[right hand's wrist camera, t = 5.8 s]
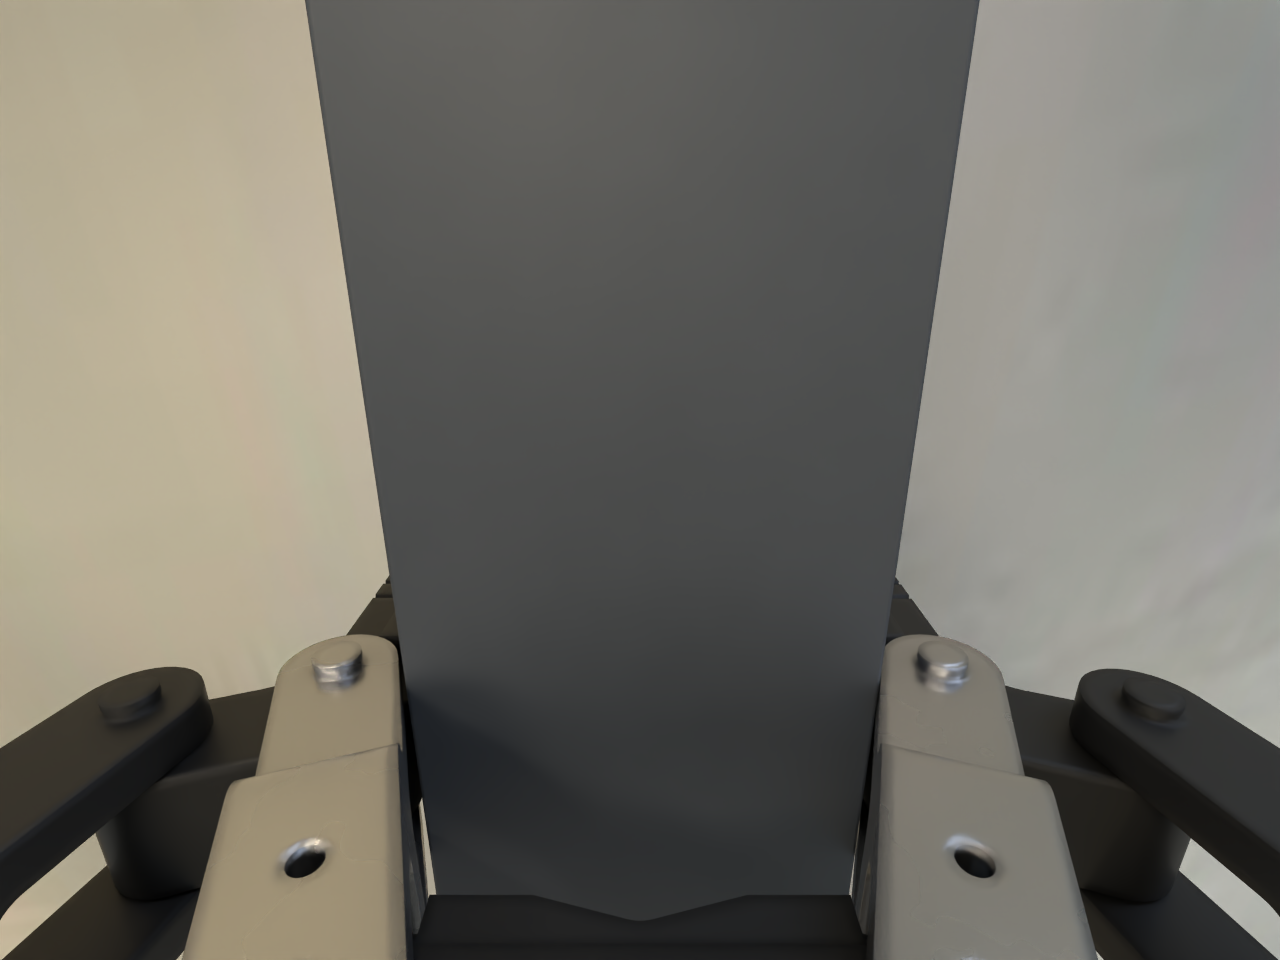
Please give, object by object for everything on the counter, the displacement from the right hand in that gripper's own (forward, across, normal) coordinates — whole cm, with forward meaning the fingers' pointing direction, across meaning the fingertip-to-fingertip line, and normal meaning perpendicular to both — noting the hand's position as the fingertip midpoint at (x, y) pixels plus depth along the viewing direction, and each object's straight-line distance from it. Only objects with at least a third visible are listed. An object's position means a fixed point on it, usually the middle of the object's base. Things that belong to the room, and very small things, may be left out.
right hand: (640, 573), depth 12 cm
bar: (+4, 0, -10) cm, 11 cm away
